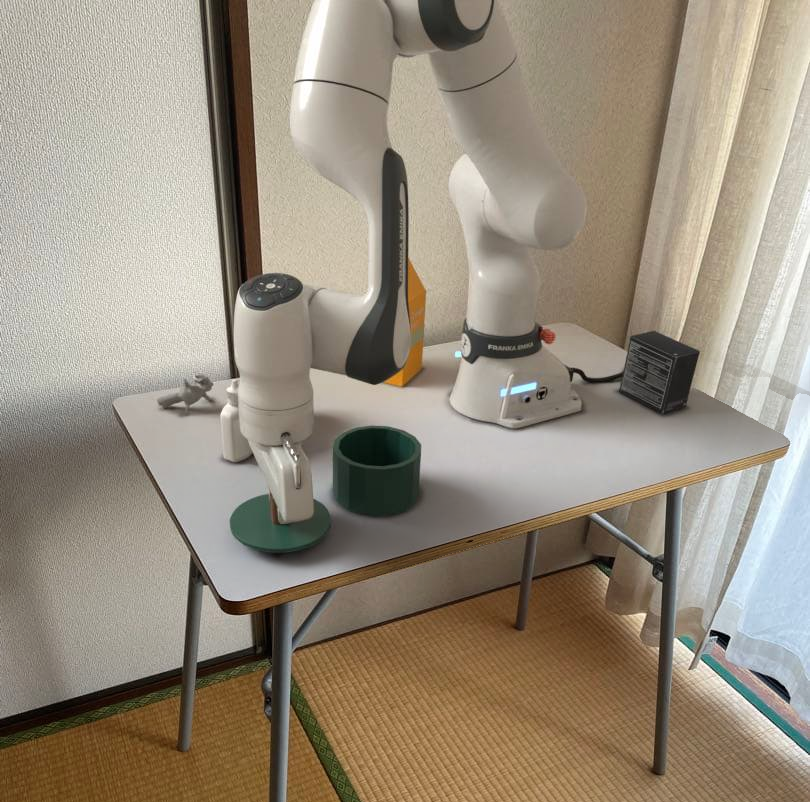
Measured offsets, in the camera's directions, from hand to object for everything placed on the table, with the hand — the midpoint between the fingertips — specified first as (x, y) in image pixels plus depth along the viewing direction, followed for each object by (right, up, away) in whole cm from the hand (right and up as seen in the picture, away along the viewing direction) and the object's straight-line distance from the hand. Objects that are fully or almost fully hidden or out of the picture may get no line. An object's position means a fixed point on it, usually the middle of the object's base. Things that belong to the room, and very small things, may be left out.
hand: (281, 512), depth 112 cm
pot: (+12, +3, +11) cm, 17 cm away
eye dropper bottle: (-9, +9, +18) cm, 22 cm away
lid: (0, -1, +1) cm, 2 cm away
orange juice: (+14, +26, +44) cm, 53 cm away
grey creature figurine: (-19, +17, +29) cm, 39 cm away
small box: (+59, +21, +40) cm, 74 cm away
